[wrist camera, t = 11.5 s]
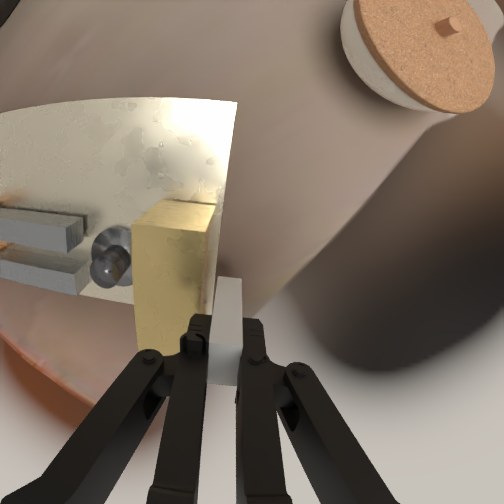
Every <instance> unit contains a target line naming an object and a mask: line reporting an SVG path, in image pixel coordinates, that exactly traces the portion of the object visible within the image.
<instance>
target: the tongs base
mask: <svg viewBox="0 0 504 504" xmlns="http://www.w3.org/2000/svg"><path fill="white" fill-rule="evenodd" d="M236 106H237V103H235V102H225V101H215V100H203V99H187V98H157V97H135V98H106V99H91V100H80V101H70V102H61V103H54V104H47V105H40V106H34V107H28V108H23V109H18V110H13V111H8V112H4V113H0V208H9V209H17V210H26V211H34V212H43V213H51V214H59V215H68V216H76V217H83V234H84V241H83V242H82V243H80V244H79V245H78V246H76V247H75V248H74V249H72V250H71V251H70V252H68V253H62V252H57V251H51V250H46V249H41V248H36V247H31V246H26V245H21V244H16V243H11V242H6V241H1V240H0V277H1V278H4V279H8V280H12V281H15V282H19V283H23V284H27V285H31V286H35V287H39V288H43V289H47V290H52V291H56V292H60V293H65V294H70V295H74V296H78V295H79V294H80V295H85V296H90V297H95V298H100V299H105V300H111V301H116V302H122V303H127V304H133V305H134V298H133V279H132V223H133V222H134V221H136V220H137V219H138V218H139V217H140V216H142V215H143V214H144V213H145V212H147V211H148V210H149V209H150V208H152V207H153V206H154V205H155V204H157V203H158V202H159V201H161V200H166V201H177V202H186V203H196V204H205V205H214V206H215V215H214V221H213V224H212V227H211V230H210V233H209V241H208V252H207V264H206V276H205V288H204V302H203V312H204V313H206V315H212V308H213V296H214V286H215V275H216V265H217V255H218V246H219V237H220V228H221V219H222V210H223V202H224V194H225V186H226V178H227V170H228V162H229V155H230V148H231V140H232V133H233V126H234V119H235V113H236Z"/></svg>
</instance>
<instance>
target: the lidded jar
mask: <svg viewBox="0 0 504 504" xmlns="http://www.w3.org/2000/svg"><path fill="white" fill-rule="evenodd" d="M340 32H341V41H342V45H343V49H344V52H345V54H346V57H347V59H348V61H349V62H350V64H351V66H352V68H353V69H354V71H355V72H356V73H357V75H358V76H359V77H360V78H361V79H362V81H363V82H364V83H365V84H366V85H367V86H369V87H370V88H371V89H372V90H373V91H375V92H376V93H377V94H379V95H380V96H382V97H383V98H385V99H387V100H389V101H391V102H392V103H395V104H397V105H400V106H403V107H406V108H409V109H414V110H419V111H425V112H442V113H452V114H461V113H468V112H471V111H474V110H476V109H477V108H479V107H480V106H482V105H483V103H484V102H485V101H486V100H487V98H488V96H489V94H490V92H491V90H492V87H493V83H494V75H495V64H494V57H493V52H492V48H491V44H490V41H489V38H488V36H487V33H486V31H485V29H484V27H483V25H482V23H481V21H480V20H479V18H478V16H477V15H476V13H475V12H474V10H473V9H472V8H471V6H470V5H469V4H468V2H467V1H466V0H347V2H346V4H345V7H344V10H343V13H342V17H341V25H340Z"/></svg>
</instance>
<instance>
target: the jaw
mask: <svg viewBox="0 0 504 504" xmlns="http://www.w3.org/2000/svg"><path fill="white" fill-rule="evenodd" d="M0 240H1V241H6V242H11V243H16V244H21V245H26V246H31V247H36V248H41V249H46V250H51V251H57V252H62V253H68V252H70V251H71V250H72V249H74V248H75V247H76V246H78V245H79V244H80V243H82V242H83V241H84V234H83V217H76V216H68V215H59V214H51V213H43V212H34V211H26V210H17V209H9V208H0Z"/></svg>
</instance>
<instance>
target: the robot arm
mask: <svg viewBox="0 0 504 504" xmlns="http://www.w3.org/2000/svg"><path fill="white" fill-rule="evenodd" d="M18 1H19V0H0V26H1V25H2V24H3V22H4V21H5V20H6V19H7V17H8V16H9V14H10V13H11V12H12V10H13V9H14V7H15V6H16V4H17V3H18ZM207 383H209V384H218V385H229V386H237V391H236V398H235V403H236V500H237V501H236V504H293V503H292V499H291V497H290V496H289V495H288V494H287V491H286V485H285V477H284V469H283V461H282V453H281V445H280V437H279V428H278V420H277V413H278V415H279V417H280V419H281V421H282V424H283V426H284V428H285V430H286V432H287V435H288V437H289V439H290V441H291V443H292V445H293V448H294V449H295V452H296V454H297V456H298V458H299V460H300V462H301V464H302V467H303V469H304V471H305V473H306V475H307V477H308V479H309V481H310V483H311V485H312V487H313V489H314V491H315V493H316V495H317V497H318V499H319V501H320V503H321V504H400V503H398V502H397V501H396V500H395V499H394V497H393V495H392V494H391V493H390V491H389V489H388V488H387V486H386V485H385V483H384V482H383V480H382V479H381V477H380V475H379V474H378V472H377V471H376V469H375V468H374V466H373V464H372V463H371V461H370V460H369V458H368V457H367V455H366V454H365V452H364V450H363V449H362V447H361V446H360V444H359V443H358V441H357V439H356V438H355V437H354V435H353V433H352V432H351V430H350V428H349V427H348V425H347V424H346V422H345V421H344V419H343V417H342V416H341V414H340V413H339V411H338V410H337V408H336V406H335V405H334V403H333V402H332V400H331V398H330V397H329V395H328V394H327V392H326V390H325V389H324V387H323V386H322V384H321V383H320V381H319V379H318V378H317V376H316V375H315V373H314V371H313V370H312V369H311V368H310V366H308V365H306V364H304V363H301V362H294V363H290V364H289V365H288V366H287V367H284V366H280V365H277V364H275V363H273V362H272V361H270V359H269V357H268V356H267V354H266V347H265V339H264V330H263V324H262V323H261V322H260V320H259V319H252V318H242V279H241V278H231V277H222V276H218V280H217V287H216V294H215V301H214V308H213V315H206V314H197V313H195V314H194V315H193V316H192V317H191V318H190V321H189V325H188V330H187V333H184V334H183V335H182V336H181V337H180V352H178V353H177V354H174V355H169V356H163V355H162V354H161V353H160V352H159V351H157V350H154V349H144V350H141V351H139V352H138V353H137V354H136V355H135V356H134V357H133V359H132V360H131V361H130V362H129V364H128V365H127V366H126V367H125V369H124V370H123V371H122V372H121V374H120V375H119V376H118V377H117V378H116V380H115V381H114V382H113V383H112V385H111V386H110V387H109V388H108V390H107V391H106V392H105V394H104V395H103V396H102V397H101V399H100V400H99V401H98V402H97V404H96V405H95V406H94V407H93V409H92V410H91V411H90V413H89V414H88V415H87V416H86V418H85V419H84V420H83V422H82V423H81V424H80V425H79V427H78V428H77V429H76V431H75V432H74V433H73V434H72V436H71V437H70V438H69V440H68V441H67V442H66V444H65V445H64V446H63V448H62V449H61V450H60V452H59V453H58V454H57V456H56V457H55V458H54V460H53V461H52V462H51V463H50V465H49V466H48V468H47V469H46V470H45V472H44V473H43V474H42V476H41V477H39V478H37V479H36V480H34V481H32V482H30V483H29V484H27V485H25V486H23V487H21V488H20V489H18V490H16V491H14V492H12V493H11V494H9V495H7V496H5V497H4V498H3V499H2V500H1V503H0V504H104V503H105V501H106V500H107V498H108V496H109V494H110V493H111V491H112V489H113V488H114V486H115V484H116V482H117V481H118V479H119V478H120V476H121V474H122V472H123V471H124V469H125V467H126V466H127V464H128V462H129V460H130V459H131V457H132V455H133V453H134V452H135V450H136V449H137V447H138V445H139V443H140V442H141V440H142V438H143V437H144V435H145V433H146V432H147V430H148V428H149V426H150V425H151V423H152V421H153V419H154V418H155V416H156V414H157V413H158V411H159V409H160V408H161V406H162V404H163V403H164V401H165V399H166V397H167V396H170V398H169V403H168V407H167V412H166V417H165V422H164V427H163V432H162V437H161V442H160V448H159V453H158V458H157V464H156V469H155V475H154V481H153V484H152V485H151V486H150V489H149V491H148V496H147V502H146V504H197V499H198V484H199V469H200V456H201V444H202V431H203V421H204V410H205V400H206V388H207ZM276 410H277V412H276Z"/></svg>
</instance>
